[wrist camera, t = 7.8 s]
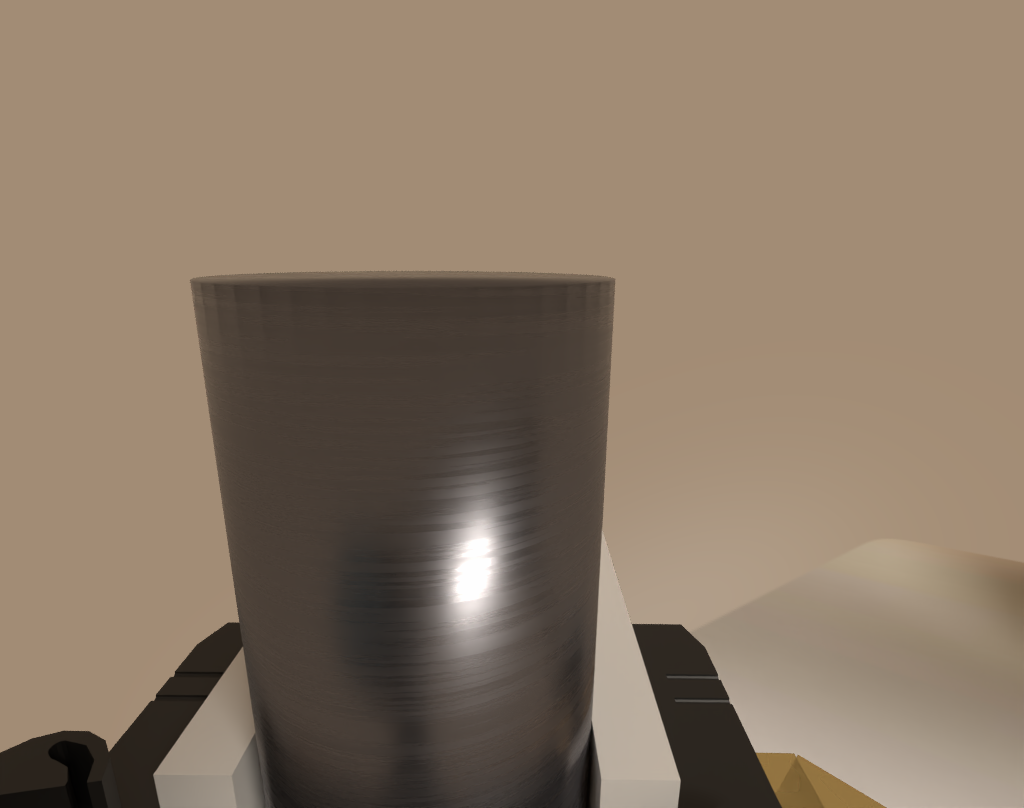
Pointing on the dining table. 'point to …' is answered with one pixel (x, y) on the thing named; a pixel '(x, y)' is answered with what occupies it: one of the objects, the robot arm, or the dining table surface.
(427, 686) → the steel pin
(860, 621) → the dining table surface
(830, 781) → the ring nut
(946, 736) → the dining table surface
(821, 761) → the dining table surface
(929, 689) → the dining table surface
